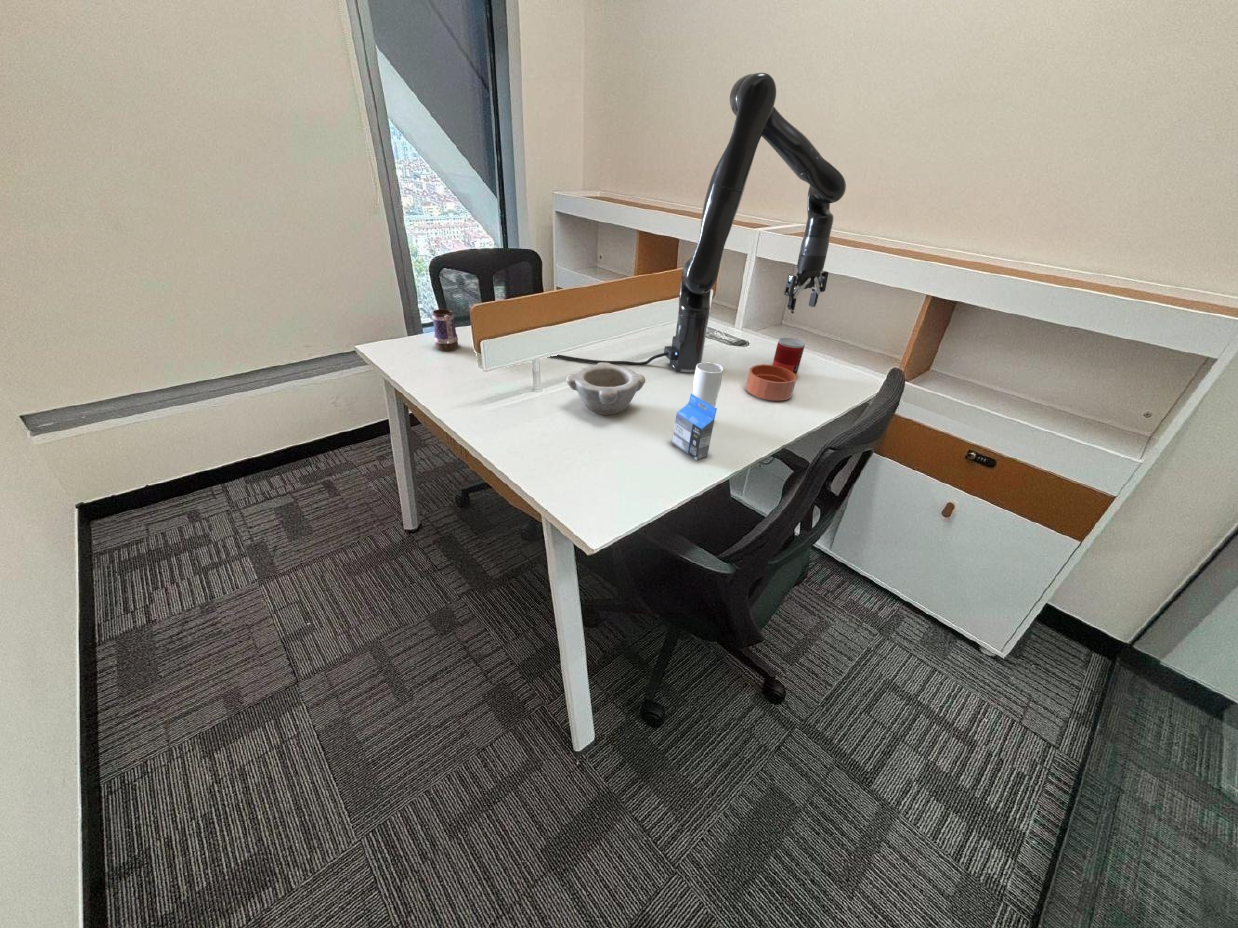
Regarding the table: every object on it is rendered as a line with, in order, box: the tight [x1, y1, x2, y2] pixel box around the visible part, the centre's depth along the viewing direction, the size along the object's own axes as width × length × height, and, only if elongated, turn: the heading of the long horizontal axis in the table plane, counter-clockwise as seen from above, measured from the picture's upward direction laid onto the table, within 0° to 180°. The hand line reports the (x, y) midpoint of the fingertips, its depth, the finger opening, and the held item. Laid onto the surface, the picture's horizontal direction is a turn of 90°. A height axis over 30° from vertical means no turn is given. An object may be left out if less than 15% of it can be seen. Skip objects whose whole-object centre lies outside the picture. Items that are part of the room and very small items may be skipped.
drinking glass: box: [692, 361, 724, 410], centre depth 124 cm, size 7×7×15 cm
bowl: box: [745, 363, 798, 402], centre depth 145 cm, size 13×13×6 cm
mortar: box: [565, 362, 646, 416], centre depth 130 cm, size 17×17×9 cm
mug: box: [431, 308, 459, 352], centre depth 156 cm, size 10×7×12 cm
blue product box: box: [671, 393, 718, 461], centre depth 113 cm, size 9×4×12 cm, turn 35°
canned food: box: [772, 337, 806, 376], centre depth 156 cm, size 8×8×11 cm
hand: (801, 308), depth 153 cm, fingers open, 8 cm apart
